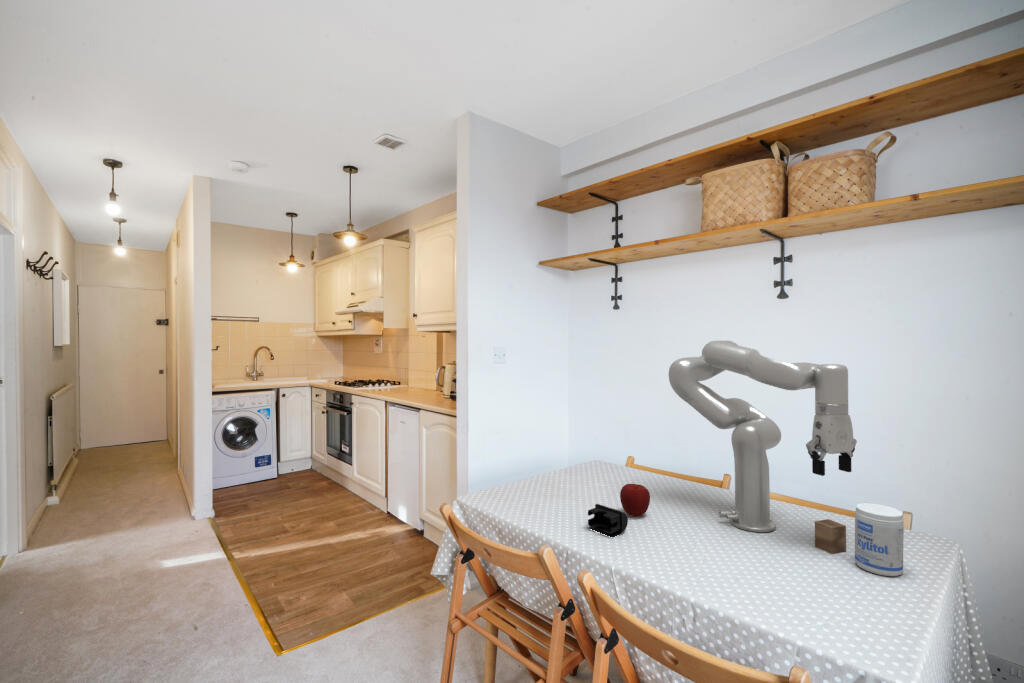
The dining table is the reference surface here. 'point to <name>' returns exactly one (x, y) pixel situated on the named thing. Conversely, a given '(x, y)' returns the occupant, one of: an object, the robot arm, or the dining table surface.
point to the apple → (635, 499)
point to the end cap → (607, 520)
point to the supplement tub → (879, 539)
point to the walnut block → (830, 536)
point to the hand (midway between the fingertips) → (831, 472)
